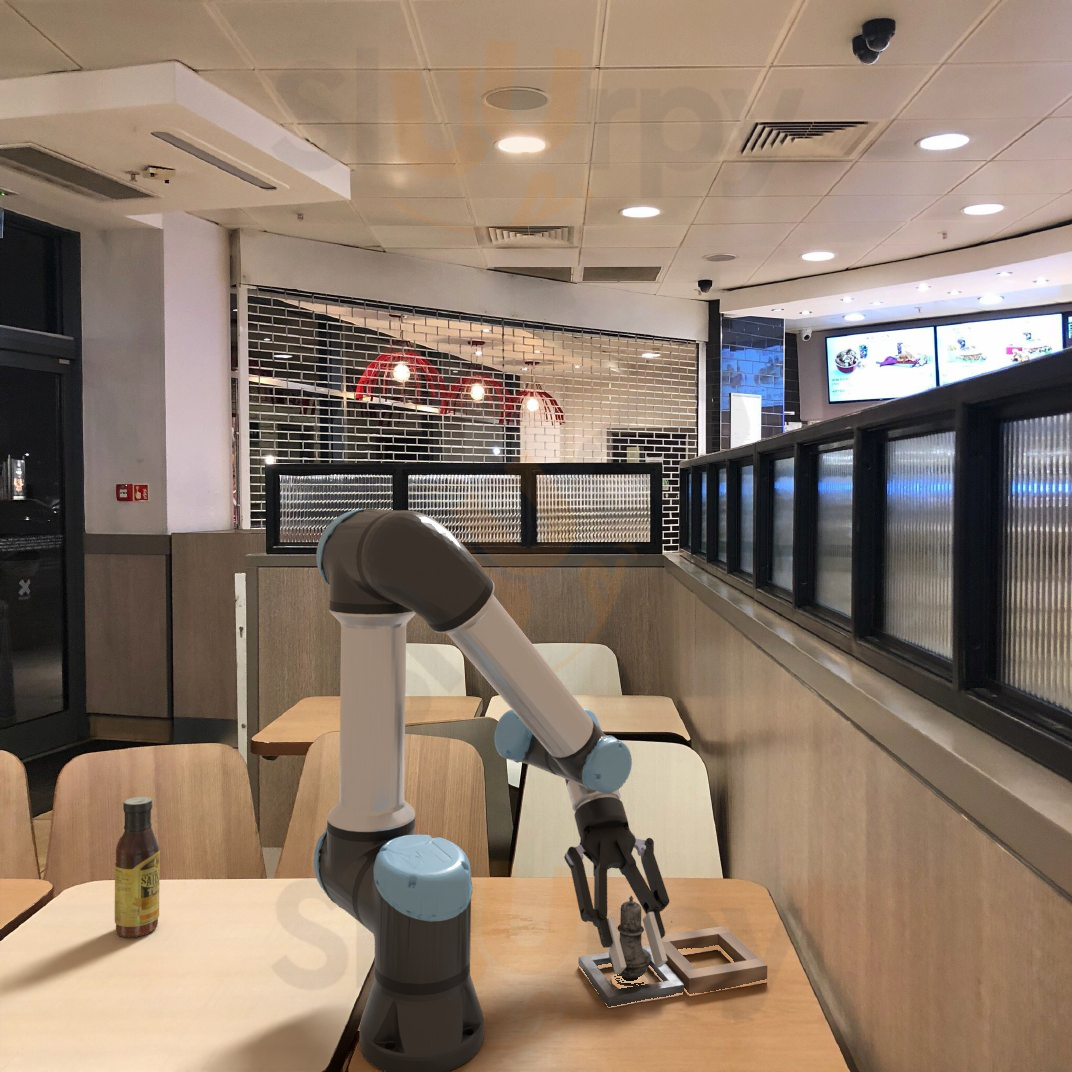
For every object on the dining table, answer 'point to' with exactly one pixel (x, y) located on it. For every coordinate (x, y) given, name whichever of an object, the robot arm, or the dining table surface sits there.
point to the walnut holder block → (712, 977)
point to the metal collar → (629, 994)
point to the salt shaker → (632, 943)
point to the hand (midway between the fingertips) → (641, 966)
